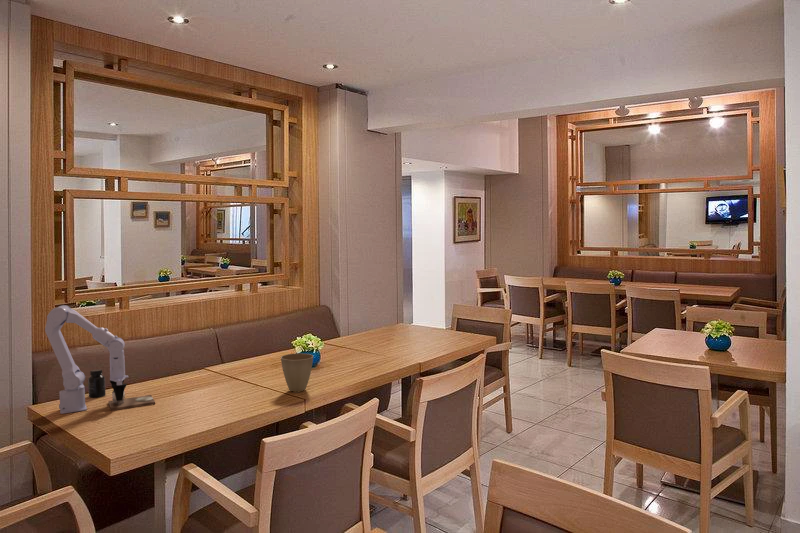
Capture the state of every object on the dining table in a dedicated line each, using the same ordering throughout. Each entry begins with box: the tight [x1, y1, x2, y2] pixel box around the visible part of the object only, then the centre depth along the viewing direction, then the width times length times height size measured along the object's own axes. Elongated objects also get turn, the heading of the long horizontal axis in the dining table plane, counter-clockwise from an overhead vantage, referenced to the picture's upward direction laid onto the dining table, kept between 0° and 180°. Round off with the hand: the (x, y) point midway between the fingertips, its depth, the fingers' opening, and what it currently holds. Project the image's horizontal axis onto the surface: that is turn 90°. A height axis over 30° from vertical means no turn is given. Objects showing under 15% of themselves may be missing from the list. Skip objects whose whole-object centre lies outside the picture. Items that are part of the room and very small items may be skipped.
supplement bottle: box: [87, 368, 107, 399], centre depth 253 cm, size 7×7×12 cm
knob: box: [111, 390, 126, 401], centre depth 238 cm, size 5×5×4 cm
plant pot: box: [280, 353, 314, 392], centre depth 259 cm, size 15×15×16 cm
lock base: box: [108, 394, 156, 412], centre depth 241 cm, size 17×13×3 cm
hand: (118, 398), depth 239 cm, fingers open, 7 cm apart
